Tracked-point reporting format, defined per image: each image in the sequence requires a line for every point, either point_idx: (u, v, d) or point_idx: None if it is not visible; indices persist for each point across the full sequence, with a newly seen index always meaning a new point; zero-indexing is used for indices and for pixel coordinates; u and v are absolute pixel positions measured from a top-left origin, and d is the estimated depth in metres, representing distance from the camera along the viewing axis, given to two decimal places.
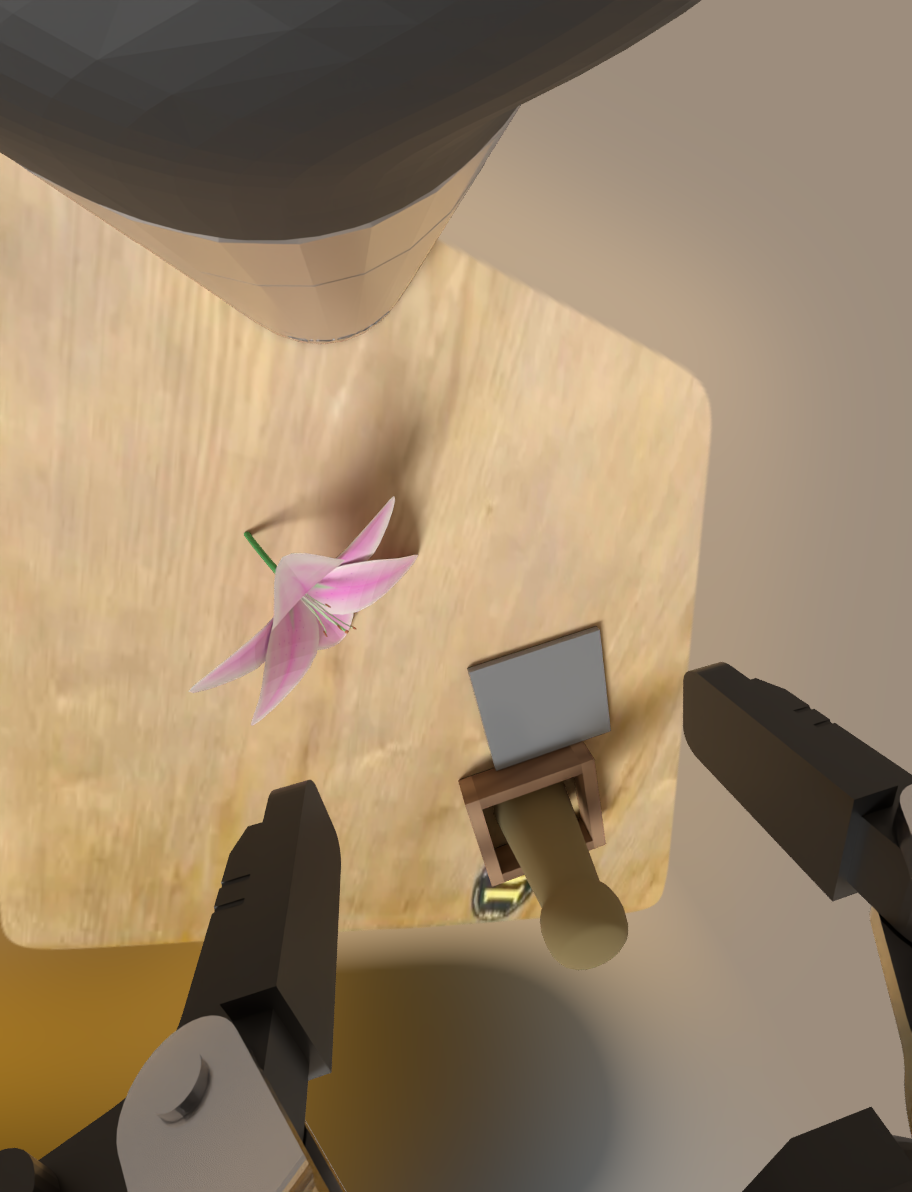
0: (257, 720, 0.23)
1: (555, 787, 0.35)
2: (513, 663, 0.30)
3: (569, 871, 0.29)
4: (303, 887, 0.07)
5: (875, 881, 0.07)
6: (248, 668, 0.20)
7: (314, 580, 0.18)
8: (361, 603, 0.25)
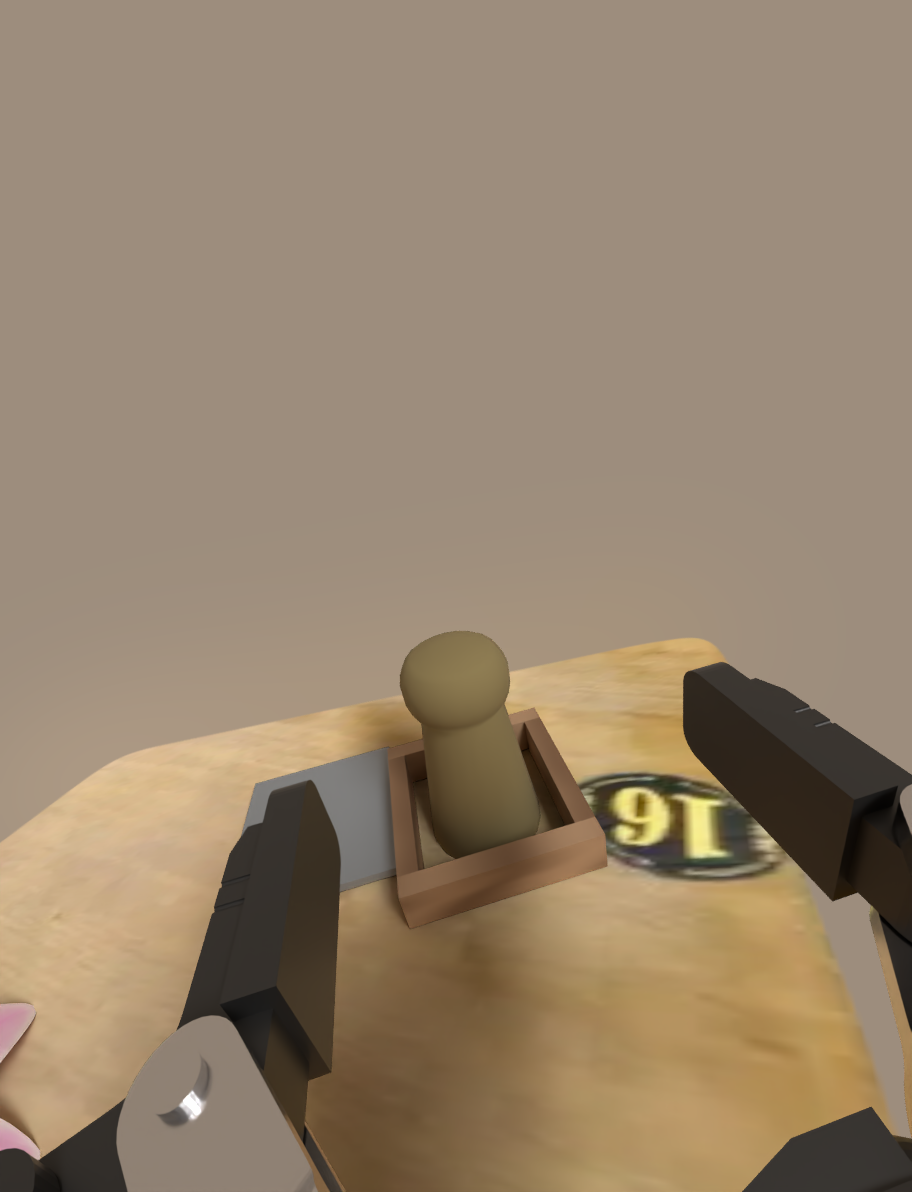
0: None
1: None
2: None
3: None
4: (303, 887, 0.07)
5: (874, 881, 0.07)
6: None
7: None
8: None
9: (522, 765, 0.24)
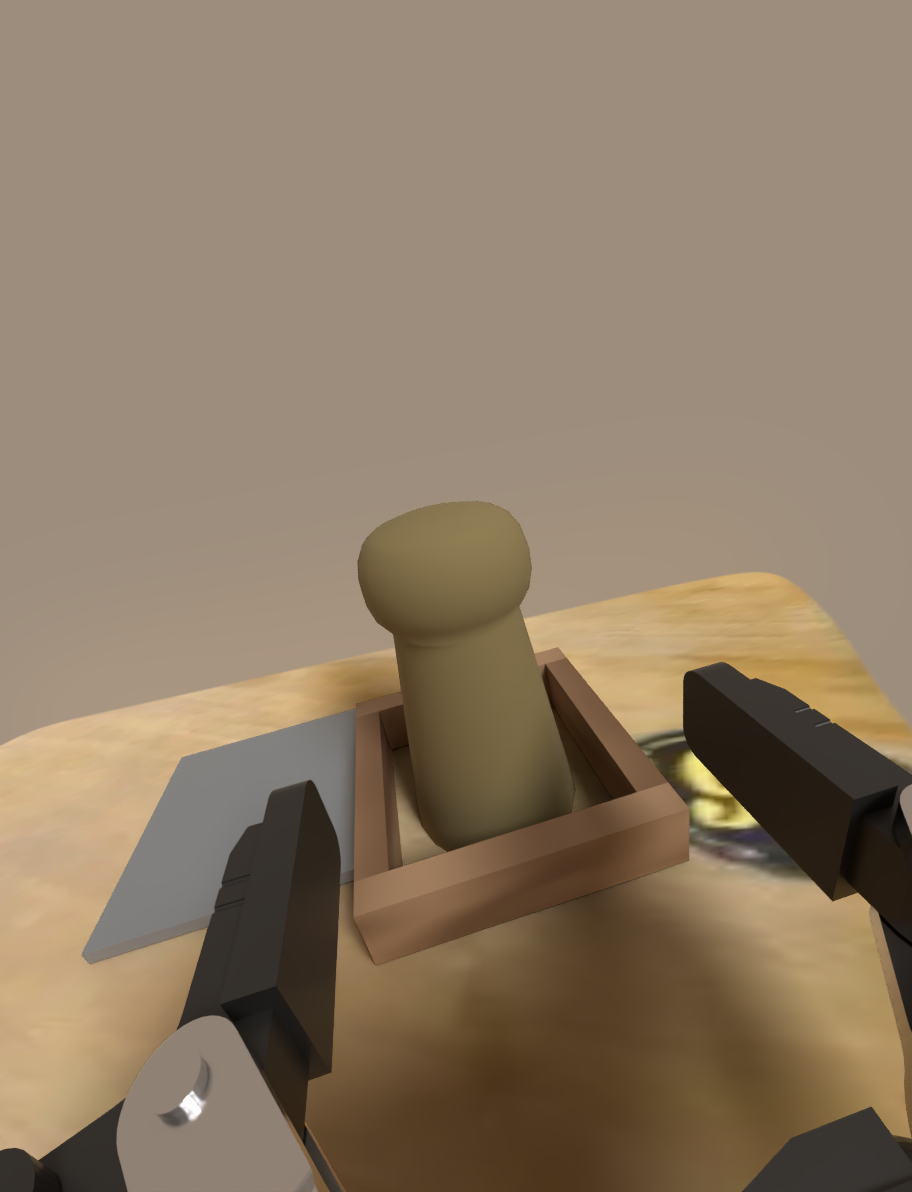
0: None
1: None
2: (135, 866, 0.17)
3: None
4: (303, 886, 0.07)
5: (874, 881, 0.07)
6: None
7: None
8: None
9: (549, 709, 0.16)
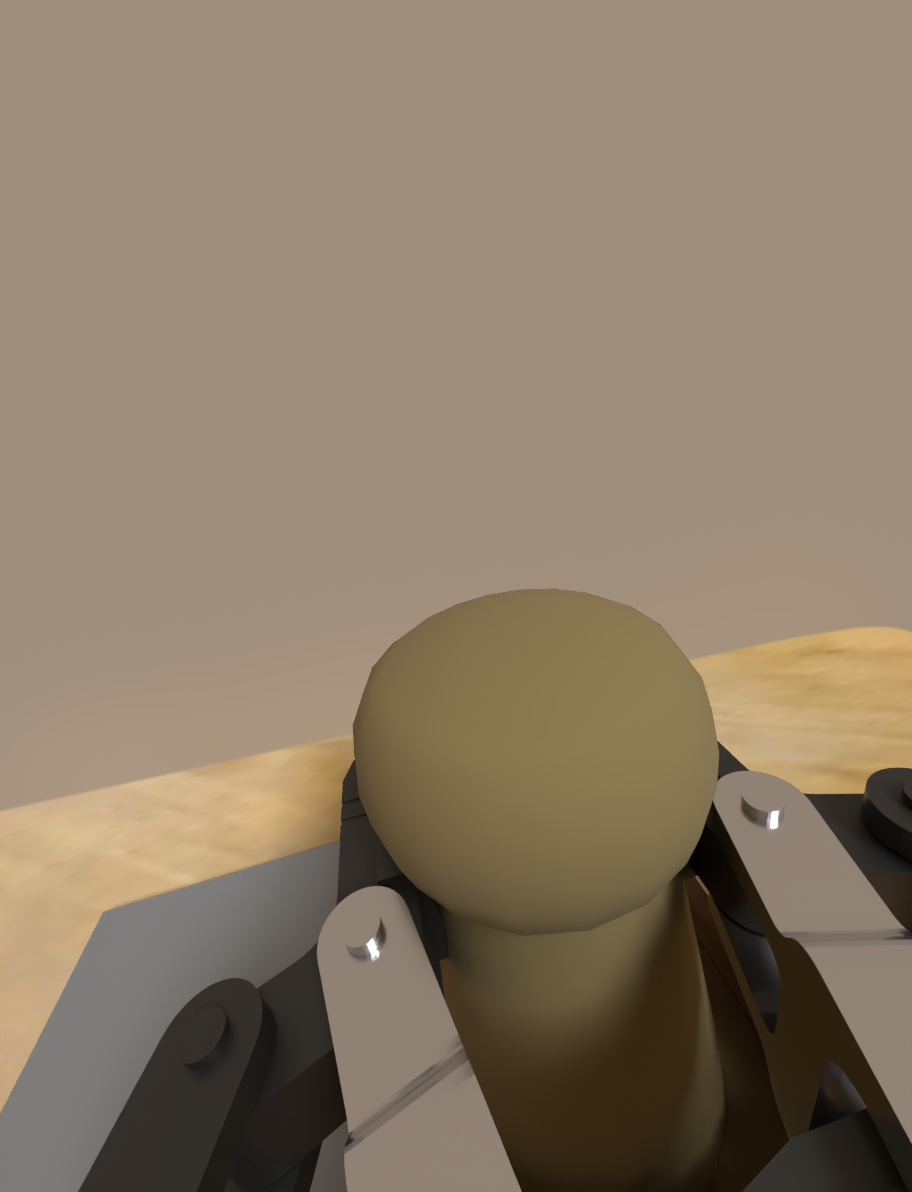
0: None
1: None
2: None
3: None
4: None
5: (702, 862, 0.07)
6: None
7: None
8: None
9: (699, 957, 0.09)
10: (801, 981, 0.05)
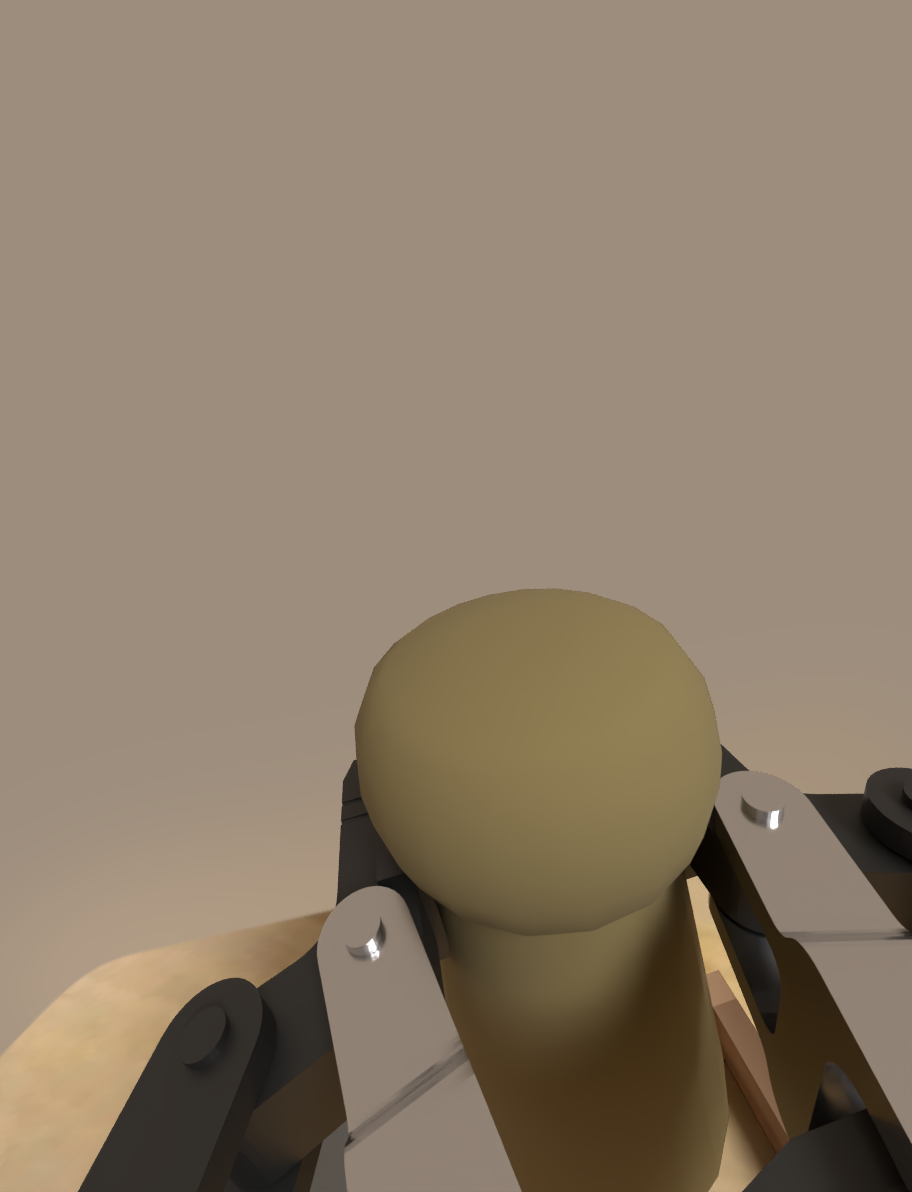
0: None
1: None
2: None
3: None
4: None
5: (703, 862, 0.07)
6: None
7: None
8: None
9: (701, 958, 0.09)
10: (801, 981, 0.05)
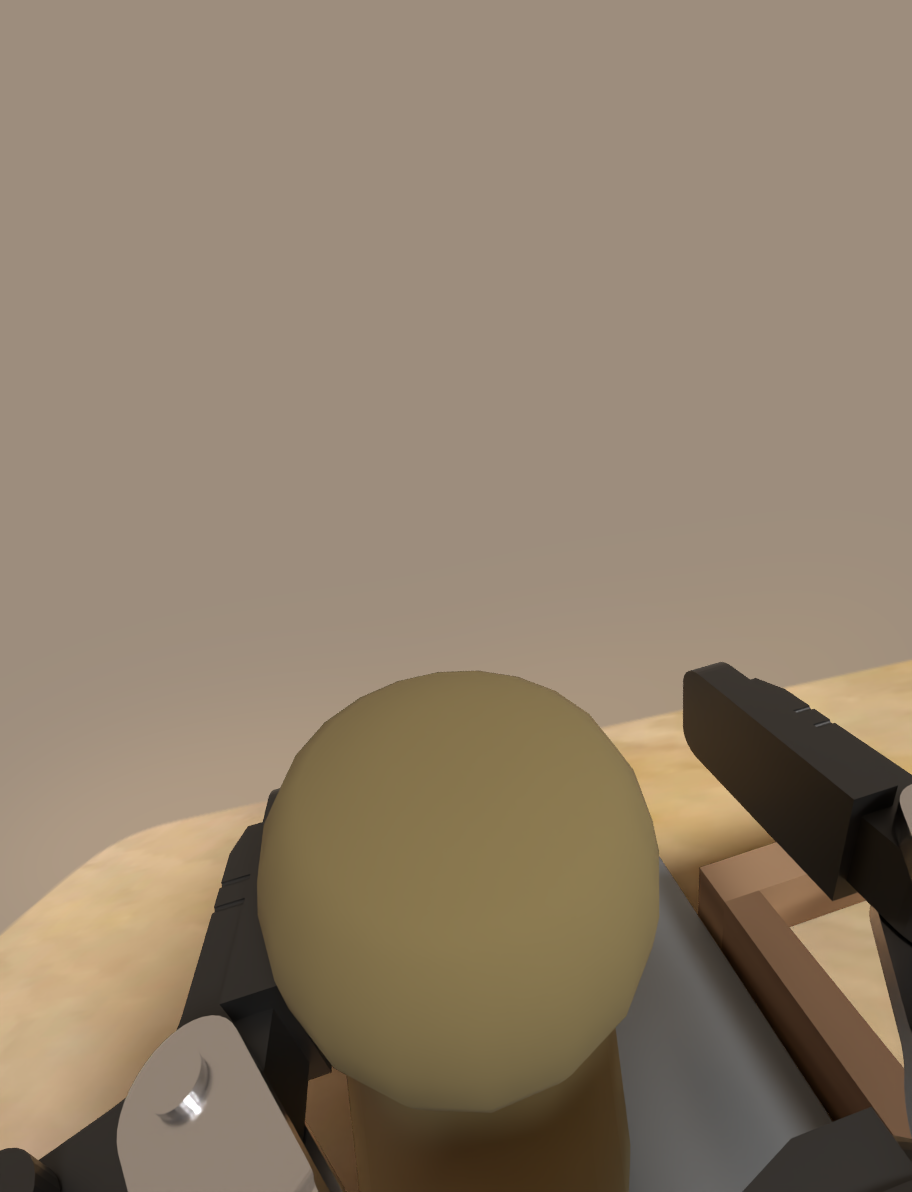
0: None
1: None
2: None
3: None
4: None
5: (875, 881, 0.07)
6: None
7: None
8: None
9: (619, 1064, 0.08)
10: None
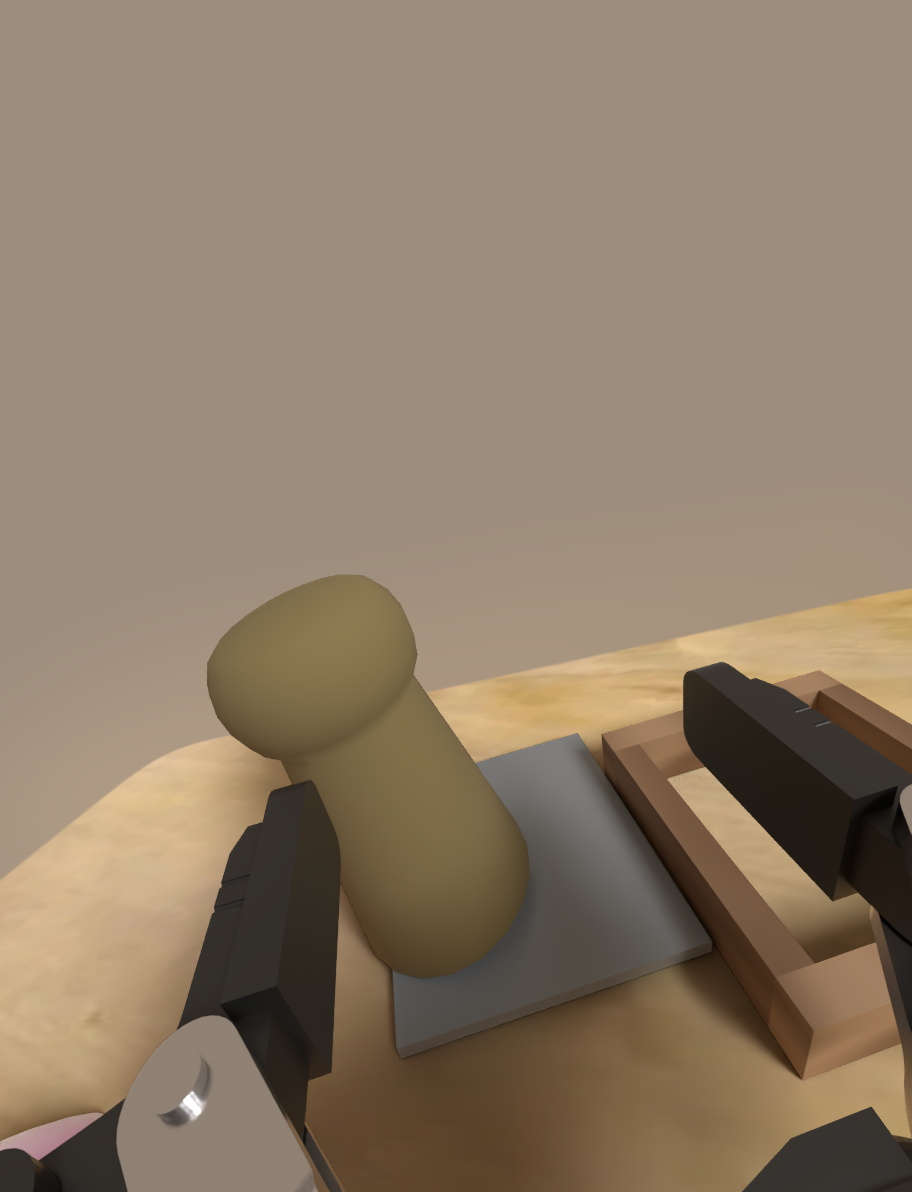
0: None
1: None
2: None
3: None
4: (303, 887, 0.07)
5: (874, 881, 0.07)
6: None
7: None
8: None
9: (476, 795, 0.14)
10: None
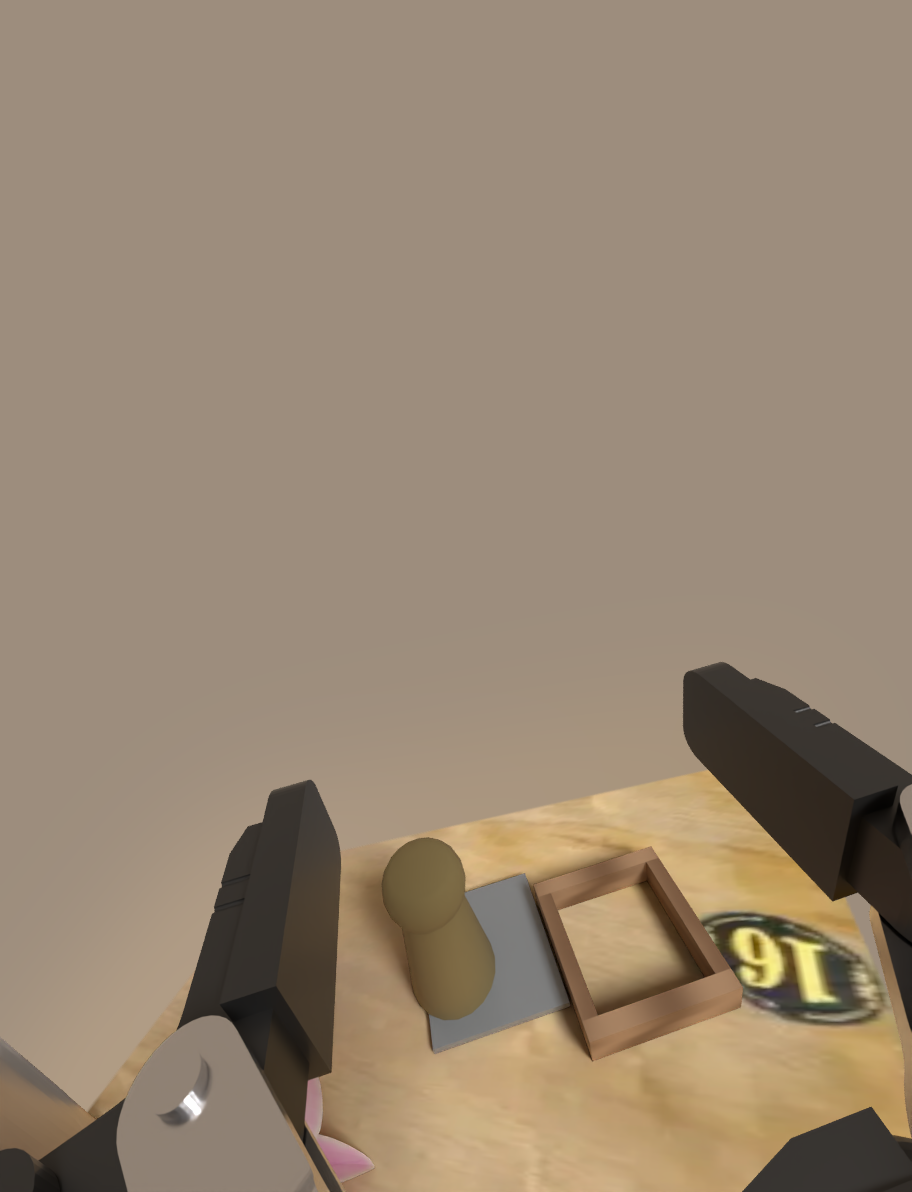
0: None
1: None
2: None
3: None
4: (303, 886, 0.07)
5: (875, 880, 0.07)
6: None
7: None
8: (312, 1120, 0.26)
9: (478, 940, 0.31)
10: None
